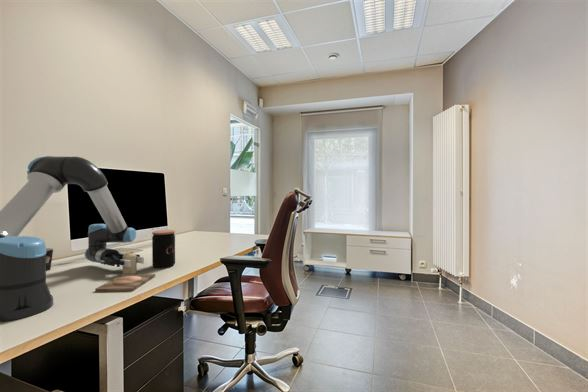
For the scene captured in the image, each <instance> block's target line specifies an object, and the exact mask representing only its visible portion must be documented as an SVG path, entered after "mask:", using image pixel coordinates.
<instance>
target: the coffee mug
mask: <svg viewBox="0 0 588 392" xmlns="http://www.w3.org/2000/svg"><path fill="white" fill-rule="evenodd" d="M53 252H54V248H51V247H50V248H49V247H47V248H46V272H49V271H50V270H51V268H52V260H53V256H54V255H53Z"/></svg>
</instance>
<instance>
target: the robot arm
mask: <svg viewBox="0 0 588 392" xmlns="http://www.w3.org/2000/svg"><path fill="white" fill-rule="evenodd" d="M26 173H27V176H26V178H27V182H26V183H25V184H24V186H22V187H21V189H20V190H18V192H17V193H16V194H15V195H14V196H13V197H12V198H11V199H10V200H9V201H8V202H7V203H6V204H5V206H3V207H2V209H0V322H6V321H13V320H19V319H23V318H27V317H30V316H34V315H36V314H37V315H38V314H40V313H42V312H44V311H46V310H48V309H50V308H51V307H53V306H54V297H53V295H52V294H51V291H50V288H49V286H48V284H47V271H46V242H45V240H44V239H42V238H40V237H36V236H28V235H27V236H25V235H23V236H20V235H21V234H22V232H23V231H24V230H25V228H26V227H27V225H29V223H30V222H31V221H32V220H33V218H34V217H35V216H36V215H37V214H38V212H39V211H40V210H41V209H42V207H43V206H44V205H45V204H46V203H47V201H48V200H49V199H50V198H51V196H52V195H53V194H55V193H59V192H61V191H62V190H63V189H64V188H65V186H66V185H78V186H79V187H81V189H82V190H83V192H85V193H86V192H87V194H88V195H89V197H90V199H91V201H92V203H93V205H94V206H95V208H96V209H97V212H98V213H99V214H100V216H101V218H102V220H103V221H104V223H93V224H90V225H89V226H88V232H87V237H88V238H87V240H88V243H87V245H88V246H87V248H86V250H85V251H84V258H85V259H86V260H87V261H90V262H92V263H98V264H101V265H104V266H105V265H106V266H111V267H115V265H116V268H120V267H121V266H122V267H123V266H127V267H131V261H130V260H125V259H123V255H125V254H126V253H120V252H119V251H118V250H116V249H112V248H107V243H109V244H110V243H112V244H113V243H120V244H121V243H122V244H126V243H133V242H134V241H135V240H136V238H137V231H136V229H135V228H133V227H128V225H127V223H126V221H125V219H124V217H123V216H122V213H121V211H120V209H119V207H118V206H117V203H116V201H115V199H114V197H113V196H112V193H111V191H110V190H109V188H108V184H109V183H108V180H107V178H106V176H105V174H104V173H103V172H102V171H101V170H100V168H99V167H98V166H97V165H96V164H94V163H93V162H91V161H90V160H88V159H86V158H83V157H80V156H53V155H52V156H51V155H47V156H40V157H36V158H35V159H33V160H31V161H30V162H29V164H28V165H27V170H26ZM135 254H136V253H135ZM136 255H137V264H141V265H142V264H143V265H144V264H145V258H144V257H142V256H141V255H140V254H136Z"/></svg>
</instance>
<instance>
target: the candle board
mask: <svg viewBox="0 0 588 392" xmlns="http://www.w3.org/2000/svg"><path fill="white" fill-rule="evenodd" d="M154 278H156V273H136V274H123V273H122V274H121V275H120V276H118V277H115V278H113V279H111V280H110V281H107V282H105V283H104V284H102V285H100V286H98V287H96V288H95V291H94V292H95V293H102V292H103V293H106V292H107V293H108V292H111V293H112V292H116V293H117V292H134V291H135V290H137V289H139V288H140V287H141V286H143V285H145V284H146V283H148V282H149V281H151V280H152V279H154Z"/></svg>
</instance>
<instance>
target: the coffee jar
mask: <svg viewBox="0 0 588 392" xmlns="http://www.w3.org/2000/svg"><path fill="white" fill-rule="evenodd" d="M175 232H176V230H173V229H159V230H153V231H152V233H151V234H152V237H151V240H152V241H151V246H152V247H151V250H152V251H151V252H152V253H151V254H152V255H151V256H152V257H151V258H152V259H151V260H152V266H153V268H155V269H168V268H171V267H174V265H175V264H176V235H175Z"/></svg>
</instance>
